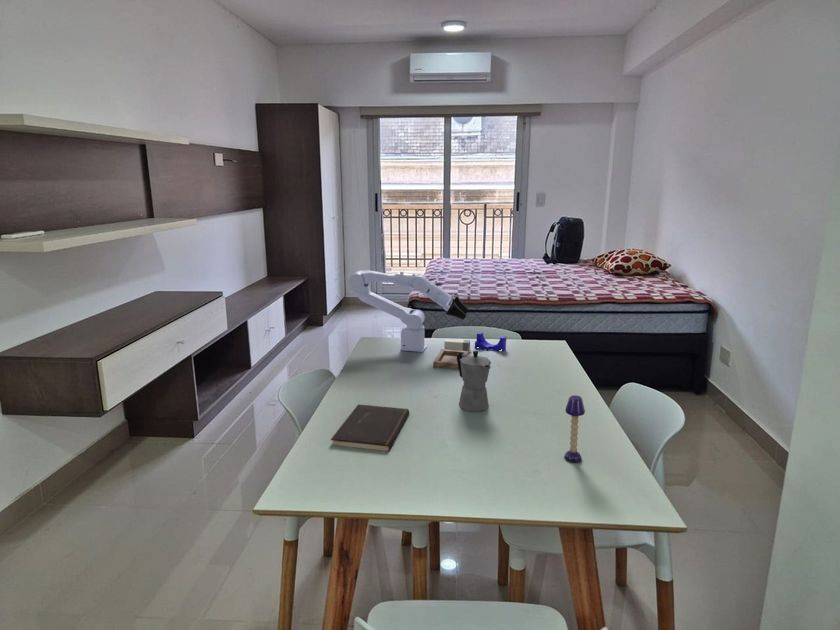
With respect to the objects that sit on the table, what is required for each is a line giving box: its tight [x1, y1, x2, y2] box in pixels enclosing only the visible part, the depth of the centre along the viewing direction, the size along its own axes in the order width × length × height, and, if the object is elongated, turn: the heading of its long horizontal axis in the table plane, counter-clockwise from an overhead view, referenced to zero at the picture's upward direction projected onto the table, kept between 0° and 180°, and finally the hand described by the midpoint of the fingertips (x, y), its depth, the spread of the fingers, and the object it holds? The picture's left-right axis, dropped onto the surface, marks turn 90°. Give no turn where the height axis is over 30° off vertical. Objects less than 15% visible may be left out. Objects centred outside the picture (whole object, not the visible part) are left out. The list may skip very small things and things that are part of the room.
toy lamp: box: [563, 394, 586, 464], centre depth 134 cm, size 5×5×17 cm
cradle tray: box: [432, 348, 469, 370], centre depth 207 cm, size 11×16×2 cm
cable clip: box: [474, 331, 507, 352], centre depth 222 cm, size 12×4×6 cm, turn 58°
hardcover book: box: [330, 403, 410, 452], centre depth 151 cm, size 16×23×2 cm
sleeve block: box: [443, 338, 471, 352], centre depth 221 cm, size 10×4×4 cm, turn 77°
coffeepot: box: [457, 350, 492, 413], centre depth 166 cm, size 15×9×18 cm, turn 33°
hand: (466, 314), depth 215 cm, fingers open, 7 cm apart
